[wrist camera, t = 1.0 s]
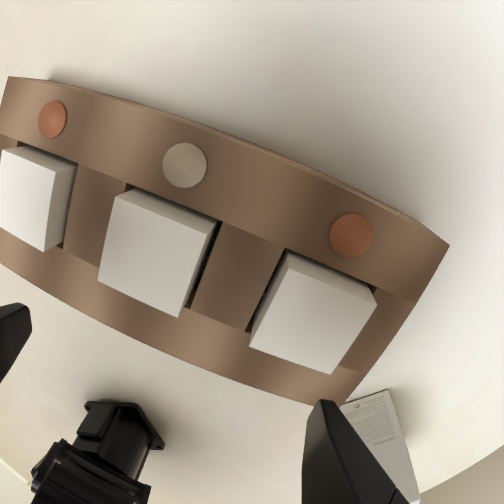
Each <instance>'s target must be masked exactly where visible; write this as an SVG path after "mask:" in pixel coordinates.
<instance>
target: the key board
mask: <svg viewBox="0 0 504 504" xmlns="http://www.w3.org/2000/svg"><path fill="white" fill-rule="evenodd" d="M28 145H32V146H34V147H37V148H40V149H42V150H45V151H47V152H50V153H53V154H55V155H58V156H60V157H63V158H66V159H68V160H71V161H73V162H76V163H78V169H77V173H76V177H75V182H74V187H73V191H72V196H71V202H70V207H69V213H68V218H67V224H66V231H65V237H64V241H62V242H61V243H59V244H57V245H56V246H54V247H52V248H50V249H49V250H47V251H45V252H42V251H40V250H39V249H37V248H35V247H33V246H32V245H30V244H28V243H26V242H25V241H23V240H21V239H19V238H18V237H16V236H14V235H13V234H11V233H9V232H8V231H6V230H4V229H3V228H1V227H0V263H1V264H2V265H4V266H5V267H7V268H8V269H10V270H12V271H13V272H15V273H16V274H18V275H19V276H21V277H22V278H24V279H26V280H27V281H29V282H30V283H32V284H34V285H35V286H37V287H39V288H40V289H42V290H44V291H45V292H47V293H49V294H50V295H52V296H54V297H55V298H57V299H59V300H61V301H62V302H64V303H66V304H68V305H70V306H71V307H73V308H75V309H77V310H79V311H80V312H82V313H84V314H86V315H88V316H90V317H92V318H94V319H95V320H97V321H99V322H101V323H103V324H105V325H107V326H109V327H111V328H113V329H115V330H117V331H119V332H121V333H123V334H125V335H127V336H129V337H132V338H134V339H136V340H138V341H140V342H142V343H144V344H147V345H149V346H151V347H153V348H155V349H158V350H160V351H162V352H164V353H167V354H169V355H171V356H174V357H176V358H178V359H181V360H183V361H185V362H188V363H190V364H193V365H195V366H198V367H200V368H203V369H205V370H208V371H210V372H213V373H215V374H218V375H221V376H223V377H226V378H229V379H231V380H234V381H237V382H240V383H243V384H245V385H248V386H251V387H254V388H257V389H260V390H263V391H266V392H269V393H272V394H275V395H278V396H281V397H285V398H288V399H291V400H294V401H298V402H301V403H304V404H308V405H311V406H315V405H316V403H317V401H318V400H319V399H328V400H333V401H334V402H335V403H336V404H337V406H338V407H339V408H340V407H341V405H342V404H343V403H344V402H345V401H346V399H347V398H348V397H349V396H350V395H351V393H352V392H353V391H354V390H355V388H356V387H357V386H358V385H359V383H360V382H361V381H362V380H363V378H364V377H365V376H366V375H367V373H368V372H369V371H370V369H371V368H372V367H373V365H374V364H375V363H376V361H377V360H378V359H379V357H380V356H381V355H382V353H383V352H384V350H385V349H386V348H387V346H388V345H389V343H390V342H391V341H392V339H393V338H394V336H395V335H396V333H397V332H398V330H399V329H400V328H401V326H402V325H403V323H404V322H405V320H406V319H407V317H408V315H409V314H410V312H411V311H412V309H413V308H414V306H415V305H416V303H417V301H418V300H419V298H420V297H421V295H422V293H423V292H424V290H425V288H426V287H427V285H428V283H429V282H430V280H431V278H432V277H433V275H434V273H435V271H436V270H437V268H438V266H439V264H440V263H441V261H442V259H443V257H444V255H445V254H446V252H447V250H448V248H449V246H450V245H449V244H448V243H446V242H445V241H444V240H442V239H441V238H440V237H438V236H437V235H436V234H434V233H433V232H432V231H430V230H429V229H428V228H426V227H425V226H424V225H422V224H421V223H419V222H417V221H415V220H414V219H412V218H410V217H408V216H406V215H404V214H403V213H401V212H399V211H397V210H395V209H393V208H391V207H389V206H388V205H386V204H384V203H382V202H380V201H378V200H376V199H374V198H372V197H370V196H368V195H366V194H364V193H362V192H360V191H358V190H356V189H354V188H352V187H350V186H348V185H346V184H344V183H342V182H340V181H337V180H335V179H333V178H331V177H329V176H327V175H325V174H323V173H320V172H318V171H316V170H314V169H312V168H309V167H307V166H305V165H303V164H300V163H298V162H296V161H293V160H291V159H289V158H287V157H284V156H282V155H279V154H277V153H275V152H272V151H270V150H268V149H265V148H263V147H260V146H258V145H255V144H253V143H250V142H248V141H245V140H243V139H240V138H237V137H235V136H232V135H230V134H227V133H224V132H222V131H219V130H216V129H213V128H211V127H208V126H205V125H202V124H199V123H197V122H194V121H191V120H188V119H185V118H182V117H179V116H176V115H173V114H170V113H167V112H164V111H161V110H158V109H154V108H151V107H148V106H145V105H142V104H138V103H135V102H131V101H128V100H125V99H121V98H117V97H114V96H110V95H107V94H103V93H99V92H95V91H91V90H87V89H83V88H79V87H75V86H71V85H67V84H62V83H58V82H53V81H49V80H41V79H32V78H22V77H11V76H8V80H7V83H6V87H5V90H4V94H3V98H2V102H1V106H0V160H1V154H2V150H3V149H9V148H15V147H21V146H28ZM137 187H139V188H142V189H144V190H147V191H149V192H152V193H154V194H157V195H159V196H162V197H164V198H167V199H169V200H171V201H174V202H176V203H179V204H181V205H184V206H186V207H189V208H191V209H194V210H196V211H198V212H201V213H203V214H206V215H208V216H211V217H213V218H215V219H218V220H220V221H223V223H222V226H221V228H220V231H219V233H218V236H217V238H216V241H215V244H214V246H213V249H212V252H211V254H210V257H209V259H208V262H207V265H206V267H205V270H204V273H203V275H200V274H199V276H198V279H197V281H196V284H195V287H194V290H193V291H192V293H191V295H190V297H189V299H188V300H187V302H186V304H185V306H184V307H183V309H182V311H181V313H180V315H179V316H178V318H177V317H174V316H172V315H170V314H168V313H165V312H163V311H161V310H159V309H156V308H154V307H152V306H150V305H148V304H145V303H143V302H141V301H139V300H137V299H135V298H132V297H130V296H128V295H126V294H124V293H122V292H120V291H118V290H116V289H114V288H112V287H110V286H108V285H105V284H103V283H101V282H99V281H97V280H98V274H99V269H100V263H101V258H102V253H103V248H104V243H105V238H106V234H107V229H108V225H109V220H110V216H111V212H112V208H113V204H114V200H115V196H118V195H120V194H123V193H125V192H127V191H130V190H132V189H135V188H137ZM284 248H287V249H290V250H292V251H294V252H297V253H299V254H302V255H304V256H306V257H309V258H311V259H313V260H316V261H318V262H320V263H323V264H325V265H327V266H330V267H332V268H334V269H337V270H339V271H341V272H344V273H346V274H348V275H350V276H353V277H355V278H357V279H360V280H362V281H364V282H366V283H367V285H368V287H369V289H370V291H371V293H372V295H373V297H374V299H375V301H376V303H377V306H376V308H375V310H374V311H373V313H372V314H371V316H370V318H369V319H368V321H367V322H366V324H365V325H364V327H363V328H362V330H361V331H360V333H359V334H358V336H357V337H356V339H355V340H354V342H353V343H352V345H351V346H350V348H349V349H348V351H347V352H346V354H345V355H344V356H343V358H342V359H341V361H340V362H339V364H338V365H337V366H336V368H335V369H334V370H333V372H332V373H331V375H330V374H327V373H323V372H320V371H317V370H314V369H311V368H308V367H305V366H302V365H299V364H296V363H293V362H291V361H288V360H285V359H282V358H279V357H276V356H274V355H271V354H268V353H265V352H263V351H260V350H257V349H254V348H252V347H249V343H250V338H251V332H252V326H253V320H254V315H255V312H256V310H257V308H258V306H259V304H260V302H261V299H260V298H261V296H262V294H263V292H264V290H265V288H266V286H267V284H268V282H269V280H270V278H271V276H272V273H273V271H274V269H275V267H276V265H277V263H278V261H279V259H280V257H281V255H282V252H283V250H284Z"/></svg>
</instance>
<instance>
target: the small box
mask: <svg viewBox="0 0 504 504" xmlns="http://www.w3.org/2000/svg"><path fill="white" fill-rule="evenodd" d="M340 410H341V411H342V413H343V414H344V415H345V417H346V418H347V420H348V421H349V422H350V424H351V425H352V426H353V428H354V429H355V431H356V432H357V433H358V435H359V436H360V437H361V439H362V440H363V442H364V443H365V444H366V446H367V447H368V448H369V450H370V451H371V452H372V454H373V455H374V457H375V458H376V459H377V461H378V462H379V463H380V465H381V466H382V467H383V469H384V470H385V471H386V473H387V474H388V476H389V477H390V478H391V480H392V481H393V482H394V484H395V485H396V488H398V489H399V490H400V491H401V493H402V494H403V495H404V497H405V498H406V499H407V501H408V502H409V503H410V504H420V501H421V497H420V494H419V490H418V486H417V482H416V478H415V474H414V471H413V467H412V463H411V460H410V456H409V452H408V449H407V445H406V442H405V438H404V435H403V432H402V429H401V425H400V422H399V419H398V416H397V413H396V410H395V407H394V404H393V401H392V398H391V395H390V392H389V390H385V391H382V392H379V393H377V394H374V395H371V396H368V397H365V398H362V399H359V400H356V401H353V402H350V403H347V404H343V405H341V407H340Z"/></svg>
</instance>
